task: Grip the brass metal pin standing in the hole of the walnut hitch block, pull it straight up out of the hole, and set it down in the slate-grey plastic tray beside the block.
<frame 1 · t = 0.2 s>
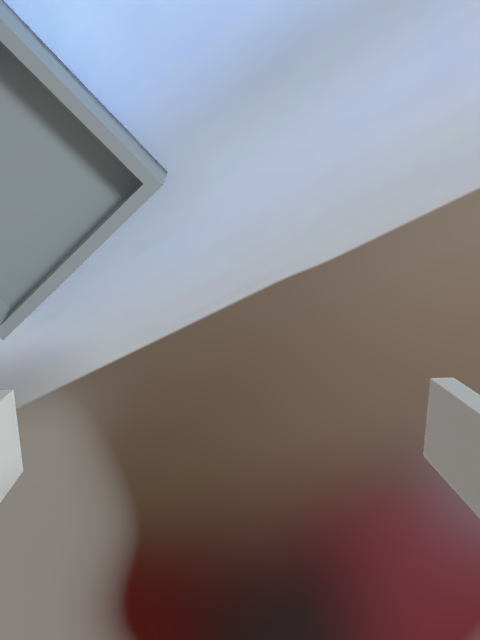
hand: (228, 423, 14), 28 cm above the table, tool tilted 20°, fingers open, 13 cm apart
tray: (9, 181, 37), on the table
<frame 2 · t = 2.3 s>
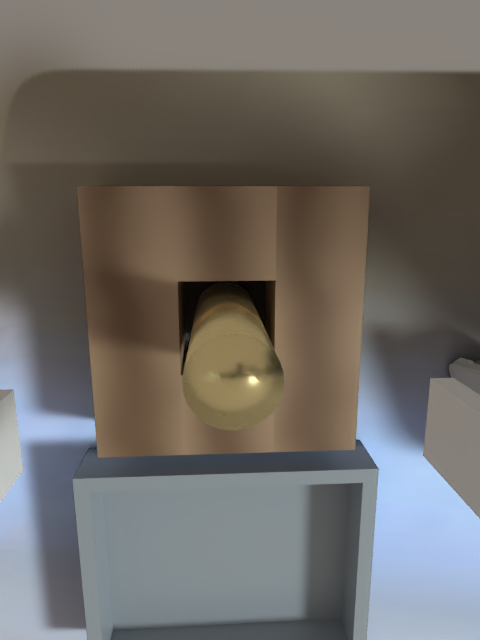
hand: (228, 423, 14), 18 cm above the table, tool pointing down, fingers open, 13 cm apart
tray: (227, 538, 35), on the table
hitch block: (225, 311, 31), on the table
pin: (228, 337, 25), in the hitch block
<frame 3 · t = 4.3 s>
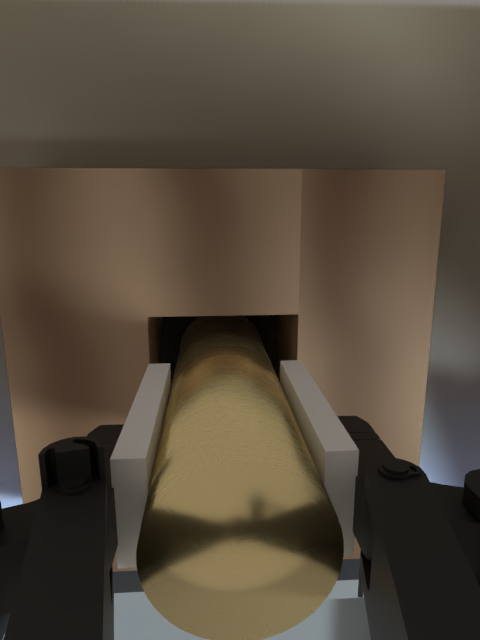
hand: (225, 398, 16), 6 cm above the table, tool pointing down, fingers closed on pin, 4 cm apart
hitch block: (220, 350, 22), on the table
pin: (227, 408, 16), in the hitch block, touching gripper
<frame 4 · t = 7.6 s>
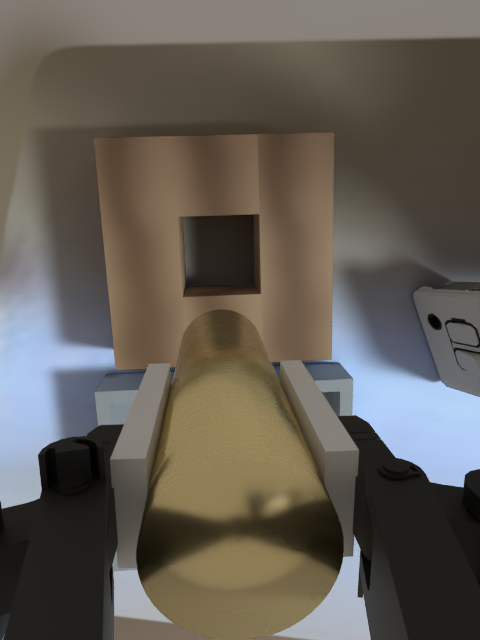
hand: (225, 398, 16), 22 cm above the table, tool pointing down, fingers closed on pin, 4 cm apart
tray: (227, 453, 41), on the table
electrical switch: (452, 323, 40), on the table
hitch block: (219, 251, 37), on the table
pin: (227, 407, 16), point 23 cm above the table, touching gripper
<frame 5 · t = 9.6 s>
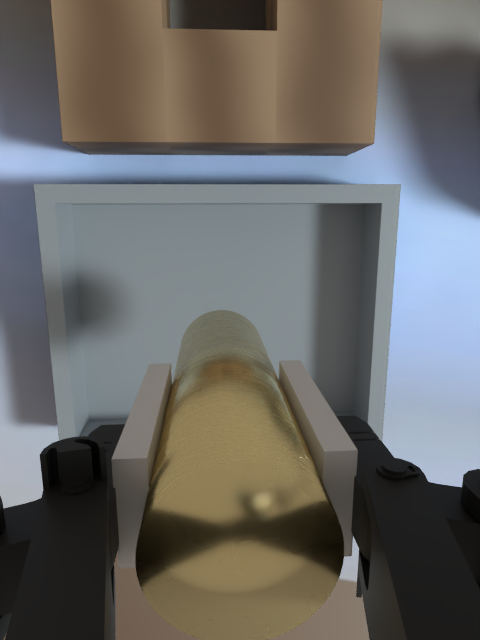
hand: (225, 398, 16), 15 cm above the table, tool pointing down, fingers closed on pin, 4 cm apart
tray: (221, 312, 31), on the table
hitch block: (217, 9, 27), on the table
pin: (227, 408, 16), point 15 cm above the table, touching gripper
when the fingers open (8 cm above the table, at t = 11.2 s): pin stays where it is, resting on tray.
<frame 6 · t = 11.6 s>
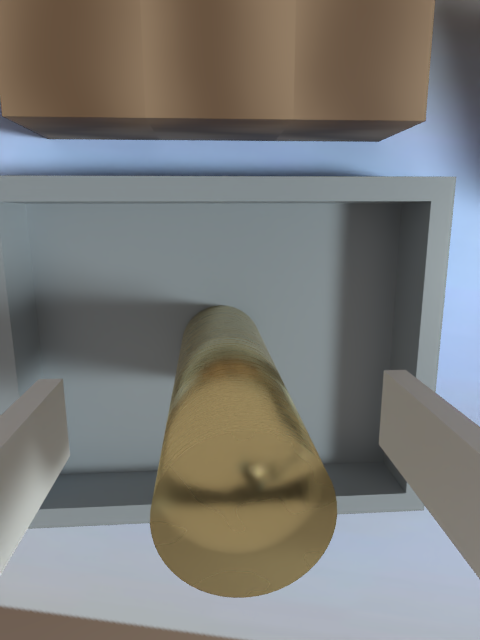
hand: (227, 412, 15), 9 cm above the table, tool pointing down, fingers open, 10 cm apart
tray: (220, 339, 24), on the table
pin: (228, 395, 17), in the tray, point 8 cm above the table
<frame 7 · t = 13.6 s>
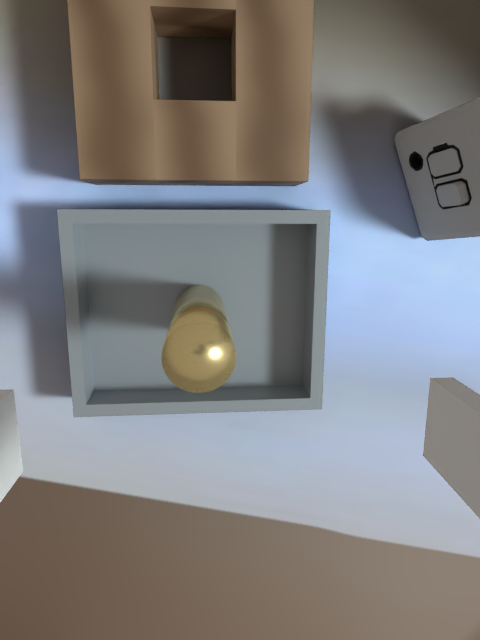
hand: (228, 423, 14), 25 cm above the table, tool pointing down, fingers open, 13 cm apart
tray: (199, 306, 39), on the table
electrical switch: (434, 175, 39), on the table
hitch block: (195, 77, 35), on the table
pin: (199, 327, 31), in the tray, point 8 cm above the table
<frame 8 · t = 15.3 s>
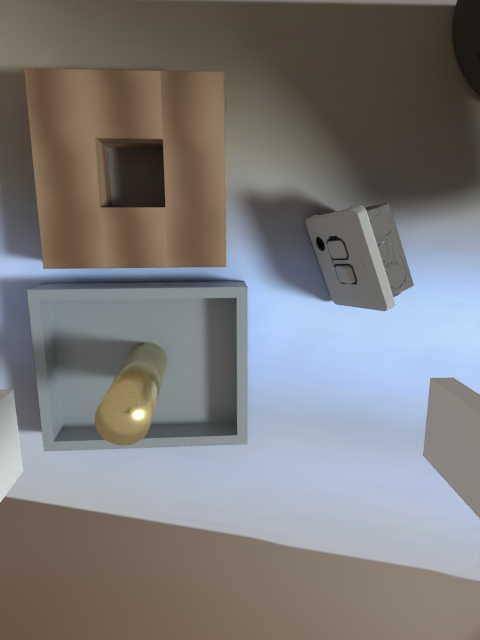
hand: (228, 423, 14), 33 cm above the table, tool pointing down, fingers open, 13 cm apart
tray: (148, 358, 48), on the table
electrical switch: (341, 250, 47), on the table
hitch block: (139, 178, 44), on the table
pin: (137, 385, 40), in the tray, point 8 cm above the table
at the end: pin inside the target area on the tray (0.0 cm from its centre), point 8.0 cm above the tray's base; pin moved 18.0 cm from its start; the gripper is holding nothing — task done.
